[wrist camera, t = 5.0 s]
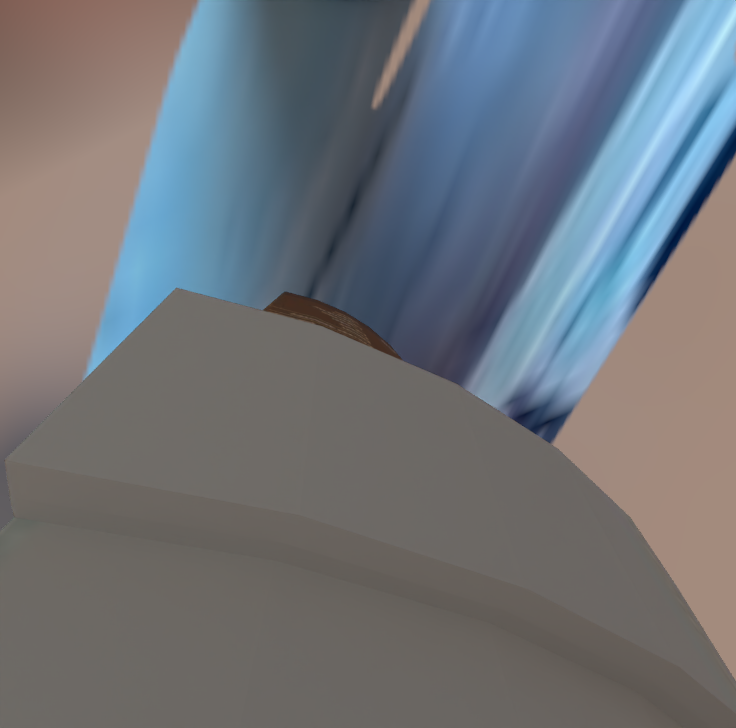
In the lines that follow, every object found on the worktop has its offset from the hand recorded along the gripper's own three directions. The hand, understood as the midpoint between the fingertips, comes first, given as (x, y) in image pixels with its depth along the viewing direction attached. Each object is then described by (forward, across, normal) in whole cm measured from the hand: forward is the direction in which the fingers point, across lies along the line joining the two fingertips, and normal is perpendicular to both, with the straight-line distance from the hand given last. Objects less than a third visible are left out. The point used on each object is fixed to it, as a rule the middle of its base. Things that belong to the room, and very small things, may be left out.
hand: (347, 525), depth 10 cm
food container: (+3, -1, 0) cm, 3 cm away
